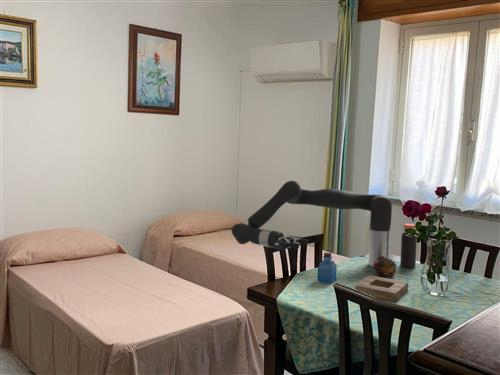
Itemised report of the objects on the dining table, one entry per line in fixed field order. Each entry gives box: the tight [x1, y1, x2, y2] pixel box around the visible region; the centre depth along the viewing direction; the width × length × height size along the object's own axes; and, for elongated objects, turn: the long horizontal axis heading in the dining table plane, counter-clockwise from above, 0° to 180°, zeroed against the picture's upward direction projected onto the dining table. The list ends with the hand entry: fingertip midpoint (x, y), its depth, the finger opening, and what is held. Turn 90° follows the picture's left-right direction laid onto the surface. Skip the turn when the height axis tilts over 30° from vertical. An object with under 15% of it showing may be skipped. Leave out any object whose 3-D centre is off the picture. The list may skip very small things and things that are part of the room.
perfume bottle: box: [316, 252, 338, 285], centre depth 209 cm, size 6×6×12 cm
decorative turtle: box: [373, 256, 398, 278], centre depth 217 cm, size 10×15×8 cm, turn 7°
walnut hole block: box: [354, 275, 409, 303], centre depth 196 cm, size 16×16×4 cm
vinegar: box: [400, 223, 418, 269], centre depth 232 cm, size 7×7×20 cm
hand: (303, 244), depth 215 cm, fingers open, 8 cm apart
